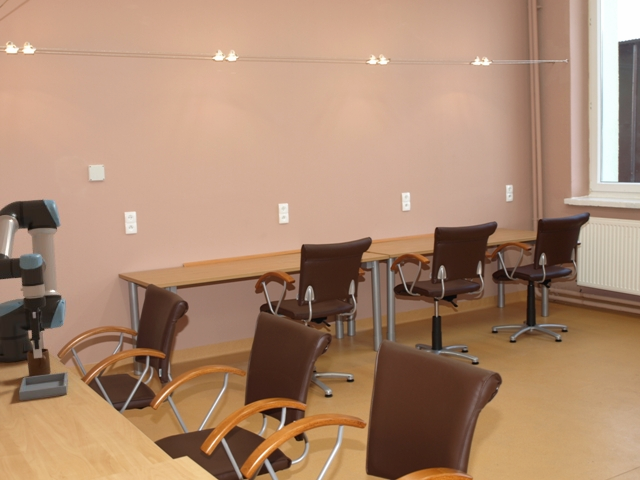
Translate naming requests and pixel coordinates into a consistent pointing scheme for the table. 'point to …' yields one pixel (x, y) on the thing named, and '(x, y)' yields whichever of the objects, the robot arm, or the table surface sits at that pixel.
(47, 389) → the tray
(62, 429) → the table surface
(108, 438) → the table surface
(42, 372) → the mug
